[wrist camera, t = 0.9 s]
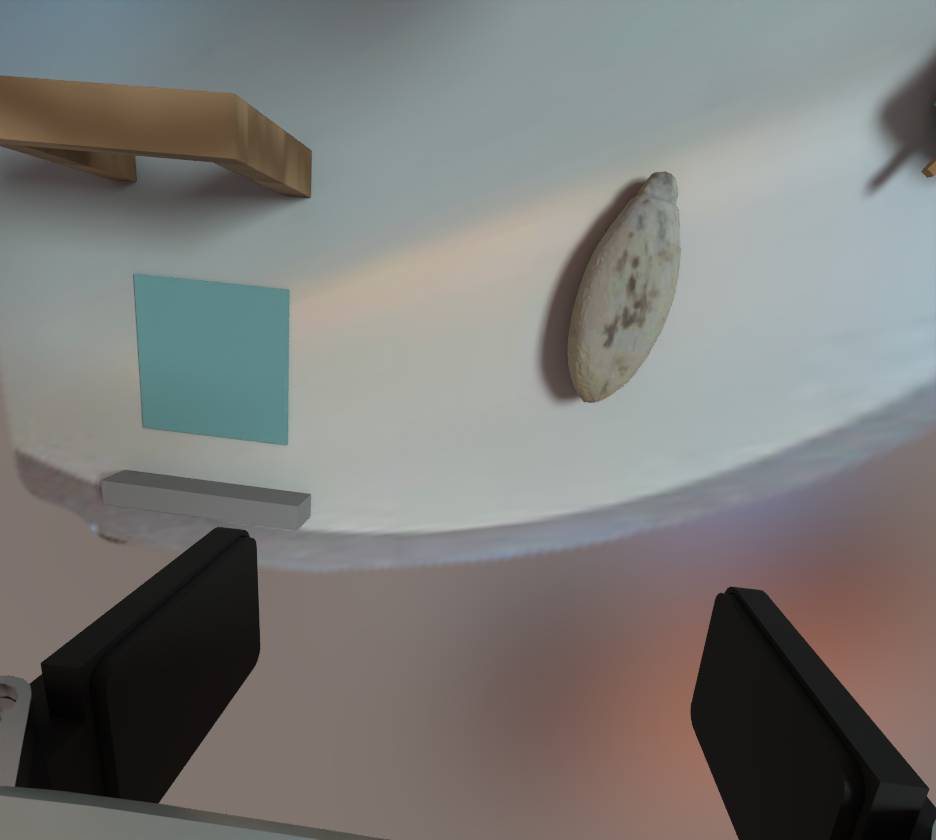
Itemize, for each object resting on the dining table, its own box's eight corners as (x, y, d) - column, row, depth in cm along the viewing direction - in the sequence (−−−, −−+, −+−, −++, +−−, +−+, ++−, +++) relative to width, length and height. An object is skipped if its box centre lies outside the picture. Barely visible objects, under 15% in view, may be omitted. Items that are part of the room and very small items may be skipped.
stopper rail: (125, 470, 41) (101, 480, 39) (310, 494, 40) (297, 506, 38) (126, 492, 42) (102, 504, 39) (310, 516, 41) (297, 530, 38)
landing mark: (135, 274, 37) (133, 274, 37) (289, 289, 37) (288, 289, 36) (144, 426, 40) (143, 427, 40) (287, 444, 39) (286, 445, 39)
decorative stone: (701, 187, 33) (722, 175, 30) (628, 408, 37) (639, 419, 33) (611, 166, 33) (622, 151, 30) (548, 388, 37) (551, 396, 33)
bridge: (107, 133, 35) (-42, 72, 26) (311, 150, 34) (235, 93, 25) (110, 179, 36) (-33, 135, 26) (310, 197, 35) (235, 158, 26)
